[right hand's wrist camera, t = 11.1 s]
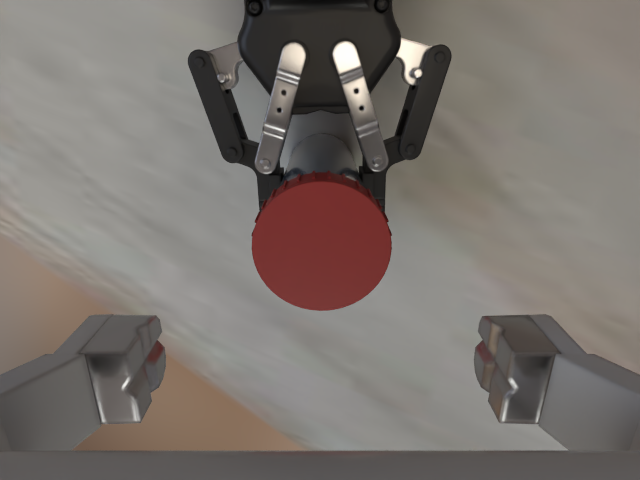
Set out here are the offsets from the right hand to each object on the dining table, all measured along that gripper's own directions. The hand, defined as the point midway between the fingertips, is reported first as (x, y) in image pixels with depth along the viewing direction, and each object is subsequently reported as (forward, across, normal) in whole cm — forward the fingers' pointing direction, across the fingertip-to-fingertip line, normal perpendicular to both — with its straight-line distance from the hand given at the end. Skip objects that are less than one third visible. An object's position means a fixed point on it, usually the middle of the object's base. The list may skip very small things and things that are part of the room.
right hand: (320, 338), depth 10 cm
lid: (+6, 0, 0) cm, 7 cm away
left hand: (+16, 0, -3) cm, 16 cm away
